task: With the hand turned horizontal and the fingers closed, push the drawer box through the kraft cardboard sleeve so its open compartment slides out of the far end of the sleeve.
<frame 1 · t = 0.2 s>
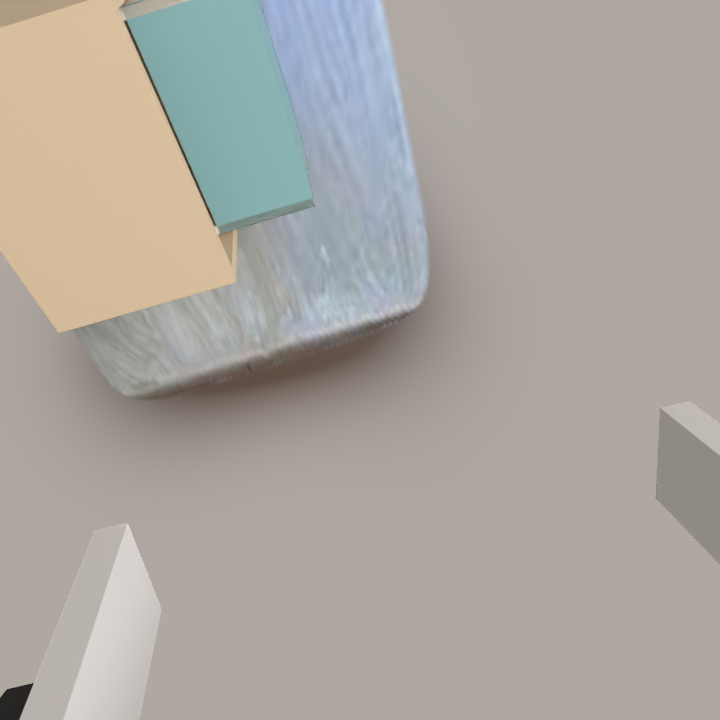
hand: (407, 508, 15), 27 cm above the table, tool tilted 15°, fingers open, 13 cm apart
sleeve: (130, 89, 33), on the table
drawer box: (175, 104, 29), point 5 cm above the table, slide at 0.0 cm
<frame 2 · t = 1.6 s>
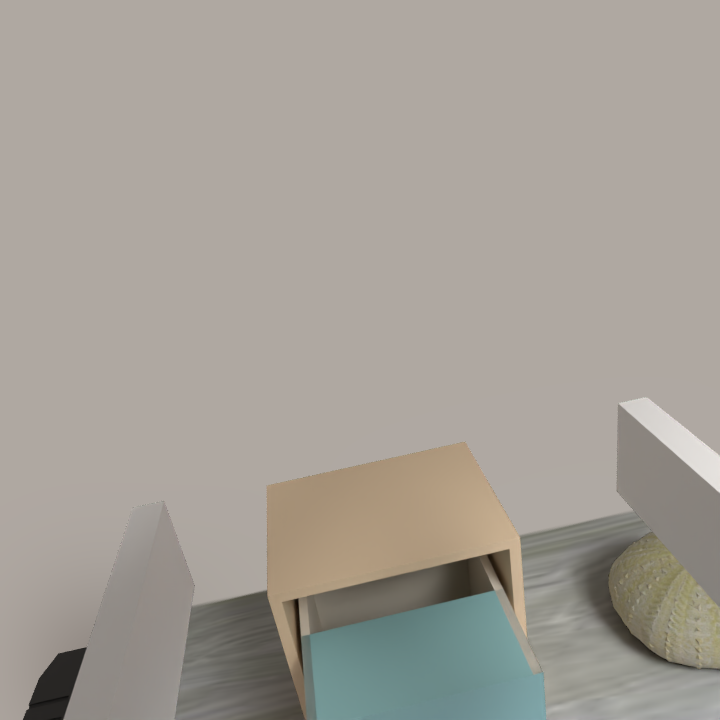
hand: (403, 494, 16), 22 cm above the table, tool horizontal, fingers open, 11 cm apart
sea urchin shell: (694, 619, 37), on the table
sleeve: (413, 690, 35), on the table
drawer box: (413, 671, 30), point 5 cm above the table, slide at 0.0 cm
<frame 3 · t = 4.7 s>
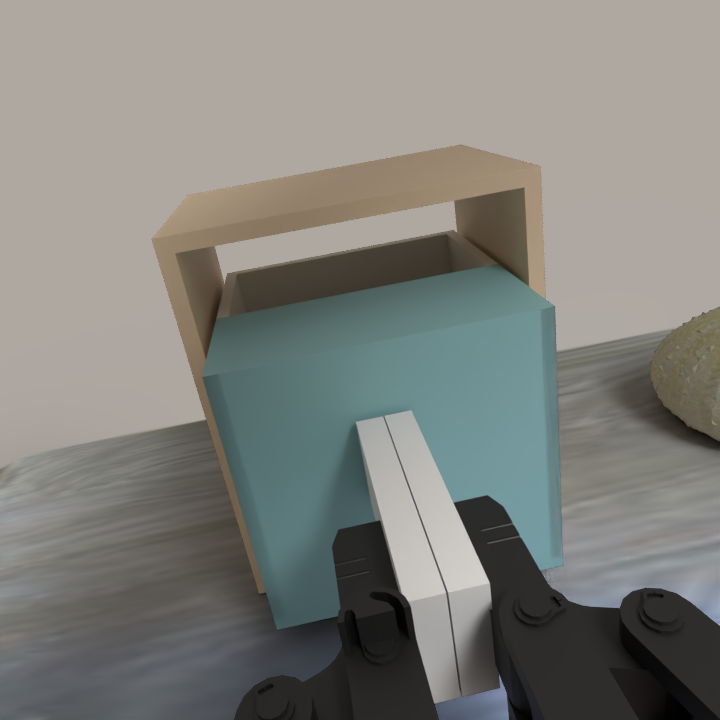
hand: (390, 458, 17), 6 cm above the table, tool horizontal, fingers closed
sleeve: (389, 495, 26), on the table
drawer box: (376, 403, 22), point 5 cm above the table, slide at 1.4 cm, touching gripper
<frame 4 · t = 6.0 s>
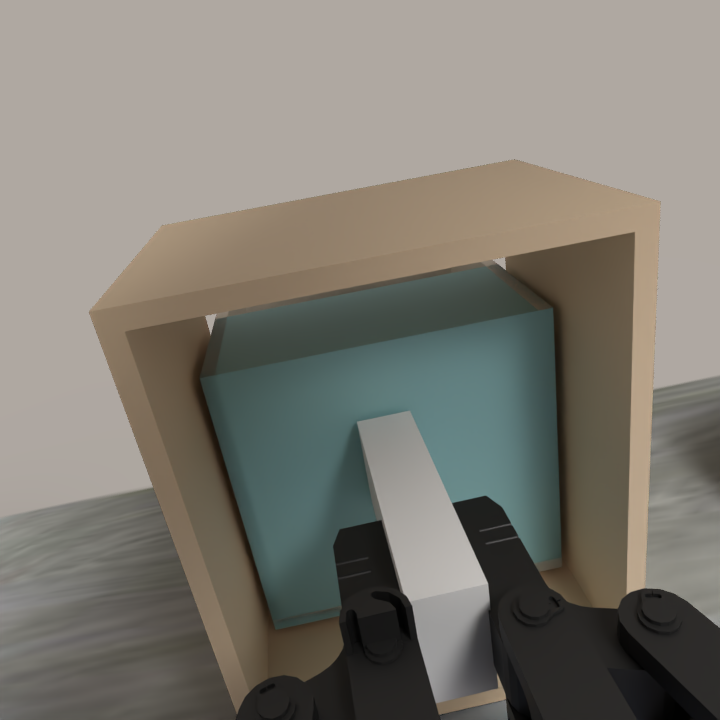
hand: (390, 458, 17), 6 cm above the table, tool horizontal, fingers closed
sleeve: (419, 602, 21), on the table
drawer box: (376, 403, 22), point 5 cm above the table, slide at 7.4 cm, touching gripper
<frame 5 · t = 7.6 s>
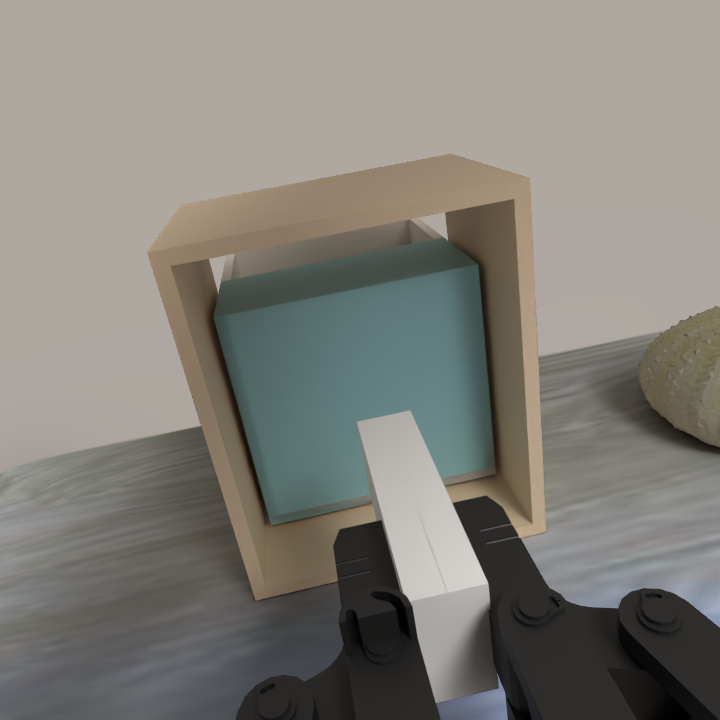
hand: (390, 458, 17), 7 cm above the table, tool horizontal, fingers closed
sleeve: (383, 500, 26), on the table
drawer box: (350, 352, 28), point 5 cm above the table, slide at 7.0 cm
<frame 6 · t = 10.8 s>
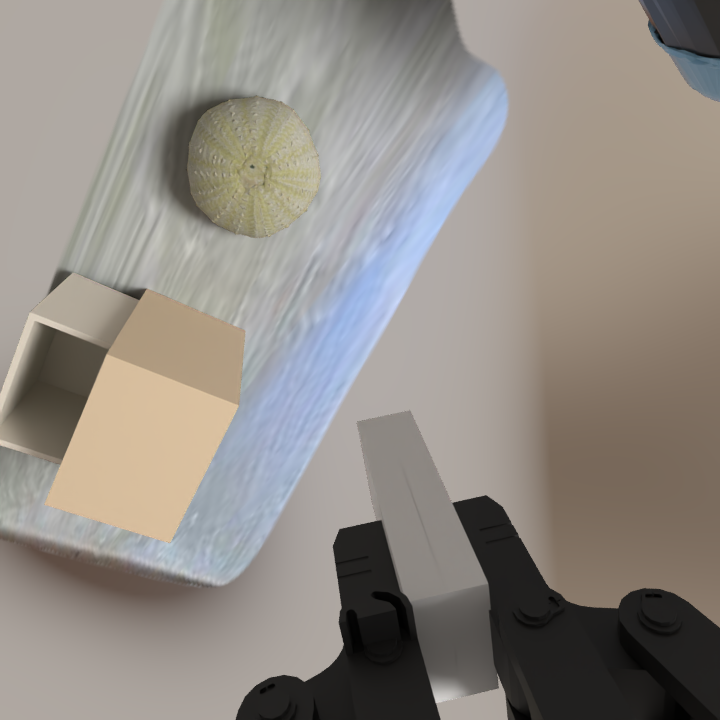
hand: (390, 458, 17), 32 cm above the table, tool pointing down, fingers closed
sea urchin shell: (255, 164, 45), on the table
sleeve: (170, 369, 49), on the table
drawer box: (104, 378, 43), point 5 cm above the table, slide at 7.0 cm
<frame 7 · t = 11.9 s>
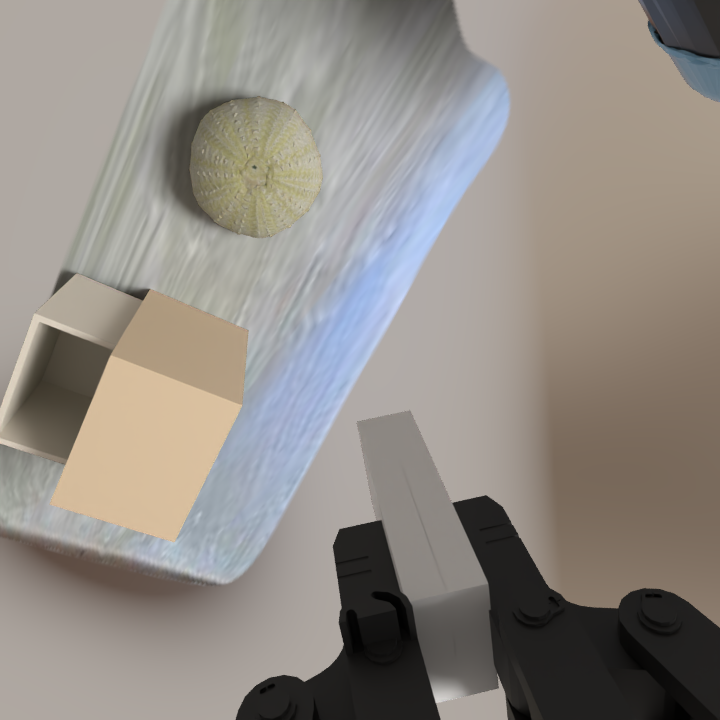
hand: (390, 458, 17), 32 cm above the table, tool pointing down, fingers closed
sea urchin shell: (257, 165, 45), on the table
sleeve: (174, 369, 50), on the table
drawer box: (108, 378, 44), point 5 cm above the table, slide at 7.0 cm
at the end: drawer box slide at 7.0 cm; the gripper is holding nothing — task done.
